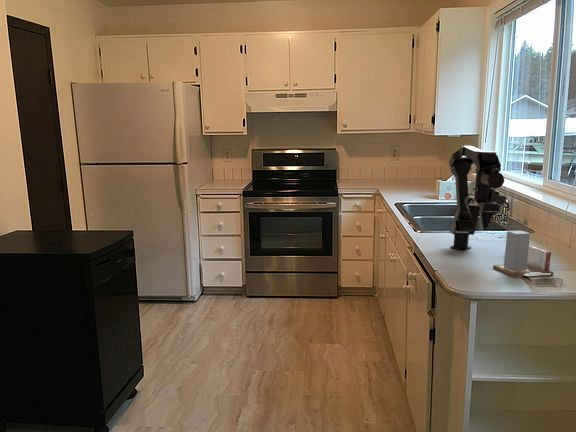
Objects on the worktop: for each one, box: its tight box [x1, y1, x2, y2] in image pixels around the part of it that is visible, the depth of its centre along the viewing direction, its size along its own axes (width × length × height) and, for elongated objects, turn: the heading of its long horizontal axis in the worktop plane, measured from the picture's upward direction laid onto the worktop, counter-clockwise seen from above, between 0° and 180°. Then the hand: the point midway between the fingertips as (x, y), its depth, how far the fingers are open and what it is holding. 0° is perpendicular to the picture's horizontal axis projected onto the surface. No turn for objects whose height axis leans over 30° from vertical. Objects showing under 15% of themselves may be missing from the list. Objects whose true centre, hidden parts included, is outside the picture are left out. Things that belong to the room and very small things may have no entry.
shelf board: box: [492, 245, 555, 279], centre depth 164 cm, size 16×11×8 cm
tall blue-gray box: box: [503, 230, 531, 271], centre depth 163 cm, size 4×6×13 cm
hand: (479, 226), depth 177 cm, fingers open, 9 cm apart
